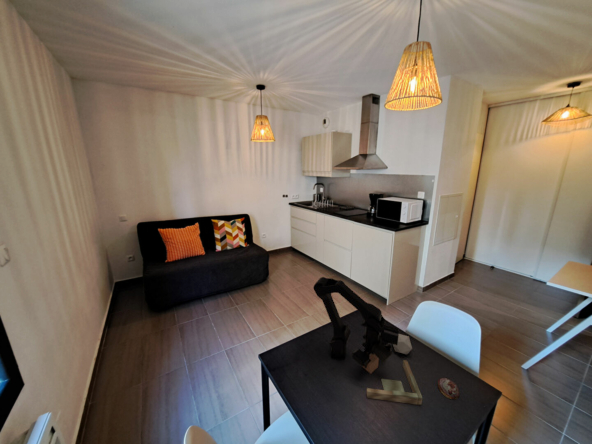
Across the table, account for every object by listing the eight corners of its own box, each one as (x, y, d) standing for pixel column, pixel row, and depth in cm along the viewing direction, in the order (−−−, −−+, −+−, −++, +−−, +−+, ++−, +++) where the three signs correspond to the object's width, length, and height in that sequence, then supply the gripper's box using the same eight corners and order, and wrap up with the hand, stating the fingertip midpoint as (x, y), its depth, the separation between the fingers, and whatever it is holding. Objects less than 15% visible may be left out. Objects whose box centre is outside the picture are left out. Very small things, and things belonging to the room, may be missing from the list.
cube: (370, 373, 97) (371, 363, 96) (360, 364, 102) (361, 355, 100) (377, 366, 101) (379, 357, 99) (367, 358, 105) (368, 349, 103)
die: (411, 348, 111) (401, 328, 114) (419, 354, 103) (408, 332, 105) (395, 355, 111) (386, 334, 114) (402, 361, 103) (391, 339, 105)
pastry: (451, 403, 85) (453, 393, 84) (432, 386, 92) (434, 376, 91) (463, 394, 89) (466, 384, 87) (444, 378, 95) (446, 369, 94)
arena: (367, 397, 87) (367, 390, 87) (361, 360, 104) (361, 354, 103) (421, 404, 85) (422, 398, 84) (406, 365, 101) (407, 359, 100)
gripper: (375, 359, 85) (372, 390, 89) (401, 336, 96) (397, 365, 100) (352, 341, 94) (350, 370, 98) (378, 322, 105) (375, 349, 109)
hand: (369, 364), depth 101 cm, fingers closed on cube, 5 cm apart
